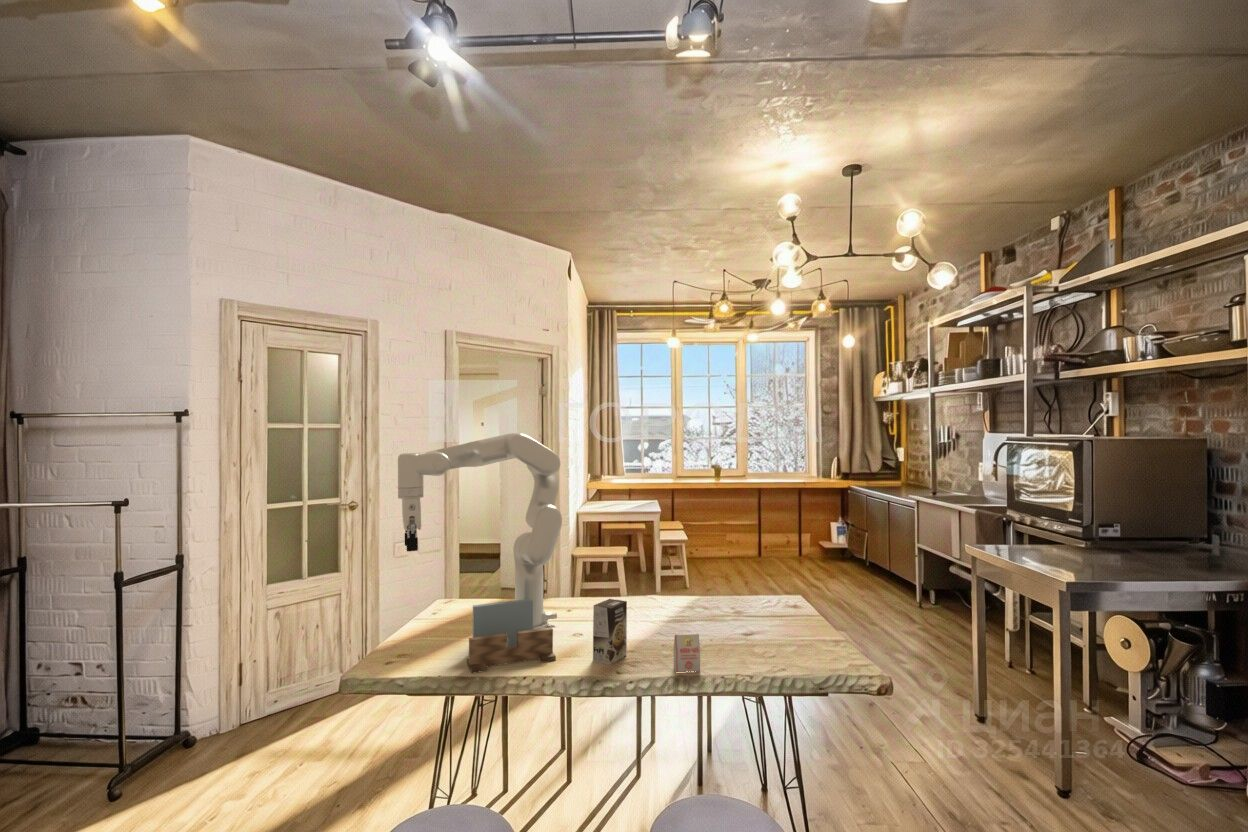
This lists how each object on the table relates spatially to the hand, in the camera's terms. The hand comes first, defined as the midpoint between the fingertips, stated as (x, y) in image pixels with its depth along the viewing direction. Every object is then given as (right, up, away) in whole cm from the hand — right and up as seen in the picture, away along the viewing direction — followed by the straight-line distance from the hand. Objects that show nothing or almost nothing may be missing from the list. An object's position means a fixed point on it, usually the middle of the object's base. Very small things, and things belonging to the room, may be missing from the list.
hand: (411, 548), depth 190 cm
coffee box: (+62, -30, -11) cm, 70 cm away
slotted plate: (+29, -30, -4) cm, 42 cm away
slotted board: (+34, -30, -14) cm, 47 cm away
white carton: (+84, -30, -20) cm, 91 cm away
